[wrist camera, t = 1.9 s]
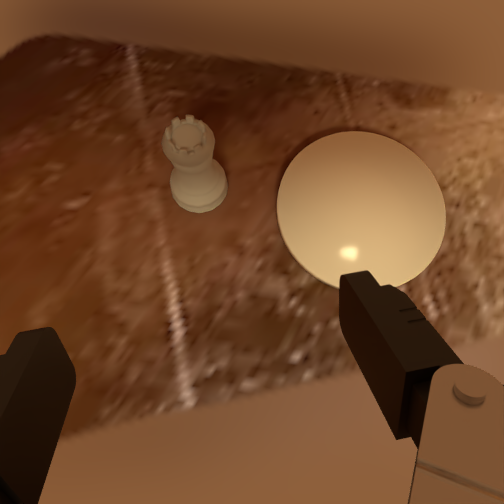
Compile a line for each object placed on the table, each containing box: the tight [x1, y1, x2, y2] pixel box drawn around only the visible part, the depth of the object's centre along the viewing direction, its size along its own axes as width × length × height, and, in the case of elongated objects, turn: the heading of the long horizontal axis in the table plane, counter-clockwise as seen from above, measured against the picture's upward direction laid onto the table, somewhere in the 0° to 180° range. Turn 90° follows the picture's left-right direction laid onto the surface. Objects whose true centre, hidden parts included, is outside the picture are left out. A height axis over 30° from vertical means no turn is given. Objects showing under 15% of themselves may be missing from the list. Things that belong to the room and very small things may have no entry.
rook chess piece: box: [161, 115, 228, 213], centre depth 26 cm, size 4×4×8 cm
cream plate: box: [276, 131, 446, 289], centre depth 29 cm, size 13×13×1 cm
